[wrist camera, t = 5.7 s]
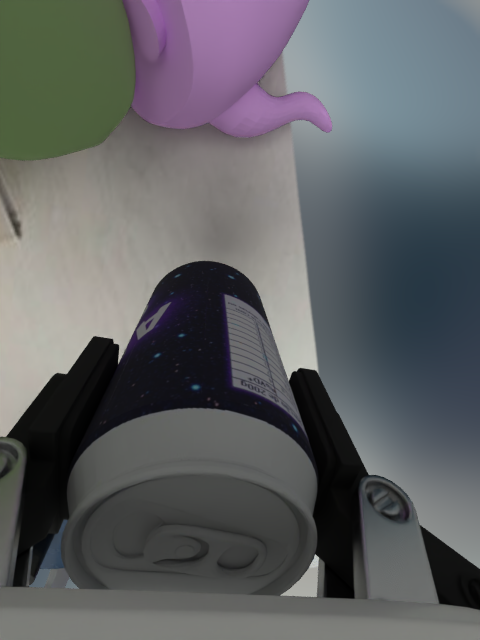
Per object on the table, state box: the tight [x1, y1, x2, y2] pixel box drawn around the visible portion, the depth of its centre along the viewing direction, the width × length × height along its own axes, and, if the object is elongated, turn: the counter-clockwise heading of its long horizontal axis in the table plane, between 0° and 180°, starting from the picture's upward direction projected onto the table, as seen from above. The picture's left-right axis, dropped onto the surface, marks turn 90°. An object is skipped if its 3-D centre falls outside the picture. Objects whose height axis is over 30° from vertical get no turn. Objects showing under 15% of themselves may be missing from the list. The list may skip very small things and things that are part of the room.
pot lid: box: [29, 520, 68, 585], centre depth 27 cm, size 11×11×5 cm
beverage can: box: [61, 261, 319, 596], centre depth 12 cm, size 6×6×12 cm
